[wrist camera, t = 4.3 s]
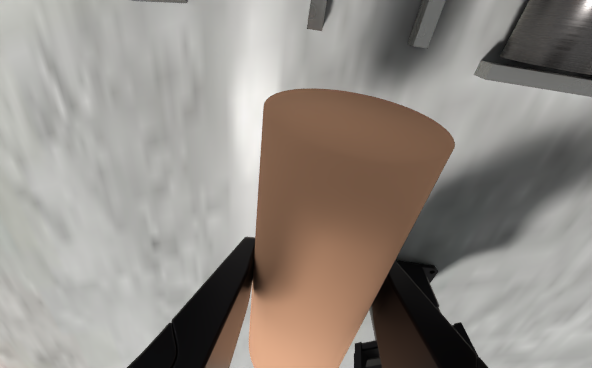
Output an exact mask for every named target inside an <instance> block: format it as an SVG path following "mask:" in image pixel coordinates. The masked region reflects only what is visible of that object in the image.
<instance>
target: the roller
mask: <svg viewBox="0 0 592 368" xmlns="http://www.w3.org/2000/svg"><path fill="white" fill-rule="evenodd" d="M454 147H455V142H454V139H453V137H452V136H451V134H450V133H449V132H448V131H447V130H446V129H445V128H444V127H442V126H441V125H440V124H438V123H437V122H435V121H434V120H432V119H430V118H429V117H427V116H425V115H423V114H421V113H419V112H417V111H414V110H412V109H410V108H407V107H404V106H402V105H399V104H396V103H393V102H390V101H387V100H383V99H380V98H376V97H372V96H368V95H363V94H358V93H353V92H347V91H339V90H330V89H294V90H287V91H283V92H279V93H276V94H274V95H272V96H270V97H269V98H268V99H267V100H266V101H265V103H264V110H263V126H262V142H261V157H260V173H259V189H258V205H257V220H256V236H255V253H254V269H253V283H252V299H251V315H250V331H249V351H250V356H251V360H252V363H253V365H254V368H339V366H340V364H341V362H342V360H343V358H344V356H345V354H346V352H347V351H348V349H349V347H350V345H351V343H352V341H353V339H354V337H355V335H356V333H357V332H358V330H359V328H360V326H361V324H362V322H363V320H364V318H365V316H366V314H367V313H368V311H369V309H370V307H371V305H372V303H373V301H374V299H375V297H376V296H377V294H378V292H379V290H380V288H381V286H382V284H383V282H384V280H385V278H386V277H387V275H388V273H389V271H390V269H391V267H392V265H393V263H394V261H395V259H396V258H397V256H398V254H399V252H400V250H401V248H402V246H403V244H404V242H405V240H406V239H407V237H408V235H409V233H410V231H411V229H412V227H413V225H414V223H415V221H416V220H417V218H418V216H419V214H420V212H421V210H422V208H423V206H424V204H425V202H426V201H427V199H428V197H429V195H430V193H431V191H432V189H433V187H434V185H435V183H436V182H437V180H438V178H439V176H440V174H441V172H442V170H443V168H444V166H445V164H446V163H447V161H448V159H449V157H450V155H451V153H452V151H453V149H454Z"/></svg>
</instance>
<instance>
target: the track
mask: <svg viewBox="0 0 592 368" xmlns="http://www.w3.org/2000/svg"><path fill="white" fill-rule="evenodd" d="M445 1H446V0H422V2H421V5H420V8H419V11H418V14H417V17H416V20H415V23H414V26H413V29H412V32H411V35H410V38H409V41H408V45H411V46H415V47H421V48H427V49H428V46H429V43H430V41H431V38H432V35H433V33H434V30H435V28H436V25H437V22H438V20H439V17H440V14H441V12H442V9H443V6H444V4H445ZM326 4H327V0H311V4H310V11H309V18H308V25H307V29H312V30H318V31H322V27H323V21H324V15H325V10H326ZM500 57H503V58H506V59H510V60H515V61H519V62H524V63H528V64H533V65H538V66H543V67H548V68H553V69H558V70H564V71H569V72H575V73H581V74H588V75H592V0H529V2H528V4H527V6H526V8H525V10H524V12H523V13H522V15H521V17H520V19H519V21H518V23H517V25H516V27H515V29H514V31H513V32H512V34H511V36H510V38H509V40H508V42H507V44H506V46H505V48H504V50H503V51H502V53H501V55H500ZM474 75H476V76H478V77H480V78H483V79H485V80H492V81H498V82H504V83H510V84H516V85H522V86H528V87H535V88H541V89H547V90H553V91H559V92H565V93H571V94H577V95H584V96H590V97H592V79H590V78H584V77H578V76H572V75H566V74H560V73H554V72H548V71H542V70H536V69H530V68H524V67H518V66H511V65H505V64H499V63H493V62H487V61H481V62H480V64H479V66H478V68H477V70H476V72H475V74H474Z"/></svg>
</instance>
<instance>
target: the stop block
mask: <svg viewBox="0 0 592 368" xmlns="http://www.w3.org/2000/svg"><path fill="white" fill-rule="evenodd" d="M133 1H146V2H172V3H187V0H133Z"/></svg>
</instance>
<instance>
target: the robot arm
mask: <svg viewBox="0 0 592 368" xmlns="http://www.w3.org/2000/svg"><path fill="white" fill-rule="evenodd" d="M254 253H255V238H254V237H245V238H244V239H243V240H242V241H241V242H240V243H239V245H238V246H237V247H236V248H235V249H234V250H233V251H232V253H231V254H230V255H229V256H228V257H227V258H226V259H225V260H224V262H223V263H222V264H221V265H220V266H219V267H218V268H217V269H216V271H215V272H214V273H213V274H212V275H211V276H210V277H209V279H208V280H207V281H206V282H205V283H204V284H203V285H202V286H201V288H200V289H199V290H198V291H197V292H196V293H195V294H194V296H193V297H192V298H191V299H190V300H189V301H188V302H187V303H186V305H185V306H184V307H183V308H182V309H181V310H180V311H179V312H178V314H177V315H176V316H175V317H174V318H173V319H172V323H169V324H168V325H167V326H166V327H165V328H164V329H163V330H162V332H161V333H160V334H159V335H158V336H157V337H156V338H155V339H154V340H153V341H152V342H151V344H150V345H149V346H148V347H147V348H146V349H145V350H144V351H143V352H142V353H141V354H140V355H139V356H138V357H137V358H136V359H135V360H134V361H133V362H132V363H131V364H130V365H129V366H128V367H127V368H229V367H230V363H231V360H232V357H233V353H234V350H235V347H236V343H237V340H238V337H239V333H240V330H241V327H242V324H243V320H244V317H245V314H246V310H247V307H248V302H249V298H250V292H251V286H252V281H253V269H254ZM437 272H438V270H437V268H436V267H435V266H434V265H427V264H419V263H412V262H404V261H397V260H395V261H394V263H393V265H392V267H391V269H390V271H389V273H388V275H387V277H386V278H385V280H384V282H383V284H382V286H381V288H380V290H379V292H378V294H377V296H376V297H375V299H374V301H373V303H372V305H371V307H370V309H369V310H370V315H371V320H372V325H373V330H374V335H375V340H376V341H371V342H366V343H361V342H359V343H355V353H354V368H488V367H487V365H486V364H485V363H484V362H483V361H482V360H481V359H480V358H479V357H478V355H477V353H476V351H475V349H474V347H473V345H472V343H471V341H470V339H469V337H468V335H467V333H466V331H465V329H464V327H463V325H462V323H461V322H460V323H455V324H454V325H451V324H450V323H449V322H448V321H447V320H446V318H445V317H444V316H443V315H442V314H441V312H440V310H439V308H438V307H439V304H438V301H437V299H436V297H435V294H434V292H433V290H432V287H431V285H430V282H431V281H432V280H433V278H434V277H435V275H436V274H437Z"/></svg>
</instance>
